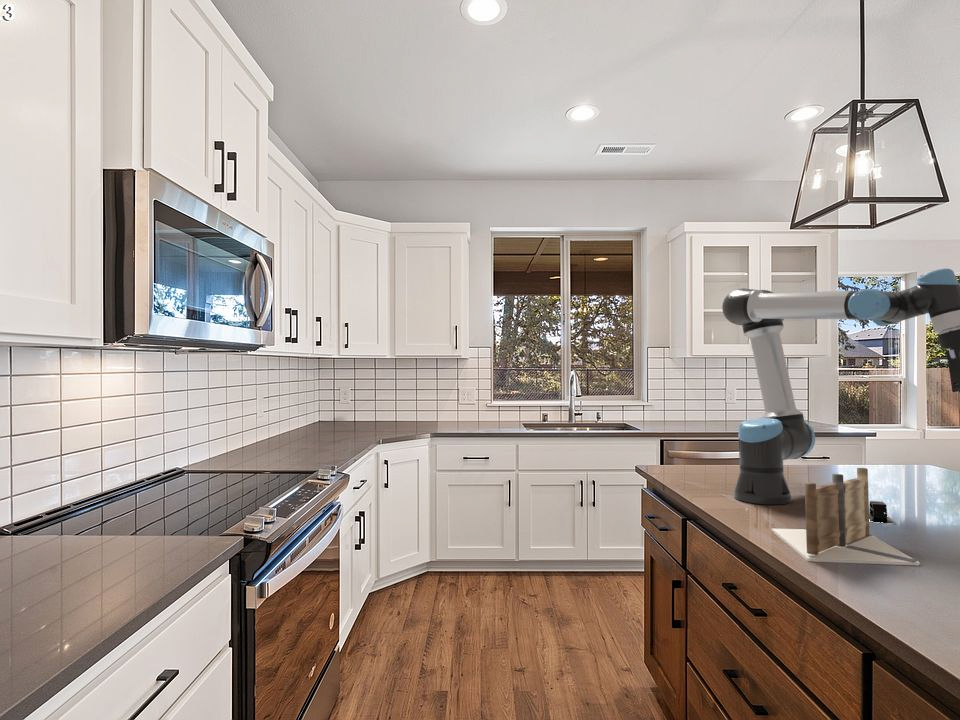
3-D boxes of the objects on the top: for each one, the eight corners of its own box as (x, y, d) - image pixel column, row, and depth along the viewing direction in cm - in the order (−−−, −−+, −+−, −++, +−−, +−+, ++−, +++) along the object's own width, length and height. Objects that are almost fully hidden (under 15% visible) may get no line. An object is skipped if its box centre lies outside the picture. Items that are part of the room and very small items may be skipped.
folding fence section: (831, 542, 122) (829, 476, 122) (841, 544, 120) (839, 478, 120) (804, 552, 115) (802, 483, 115) (815, 555, 113) (813, 484, 114)
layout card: (771, 530, 135) (771, 528, 135) (865, 533, 132) (865, 530, 132) (807, 561, 113) (807, 558, 113) (921, 566, 110) (921, 562, 110)
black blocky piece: (857, 514, 152) (856, 496, 152) (890, 516, 149) (889, 498, 149) (867, 525, 140) (866, 507, 140) (903, 528, 137) (902, 509, 138)
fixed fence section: (843, 547, 120) (840, 475, 121) (832, 544, 122) (830, 474, 122) (871, 535, 128) (869, 468, 129) (861, 533, 130) (859, 467, 130)
